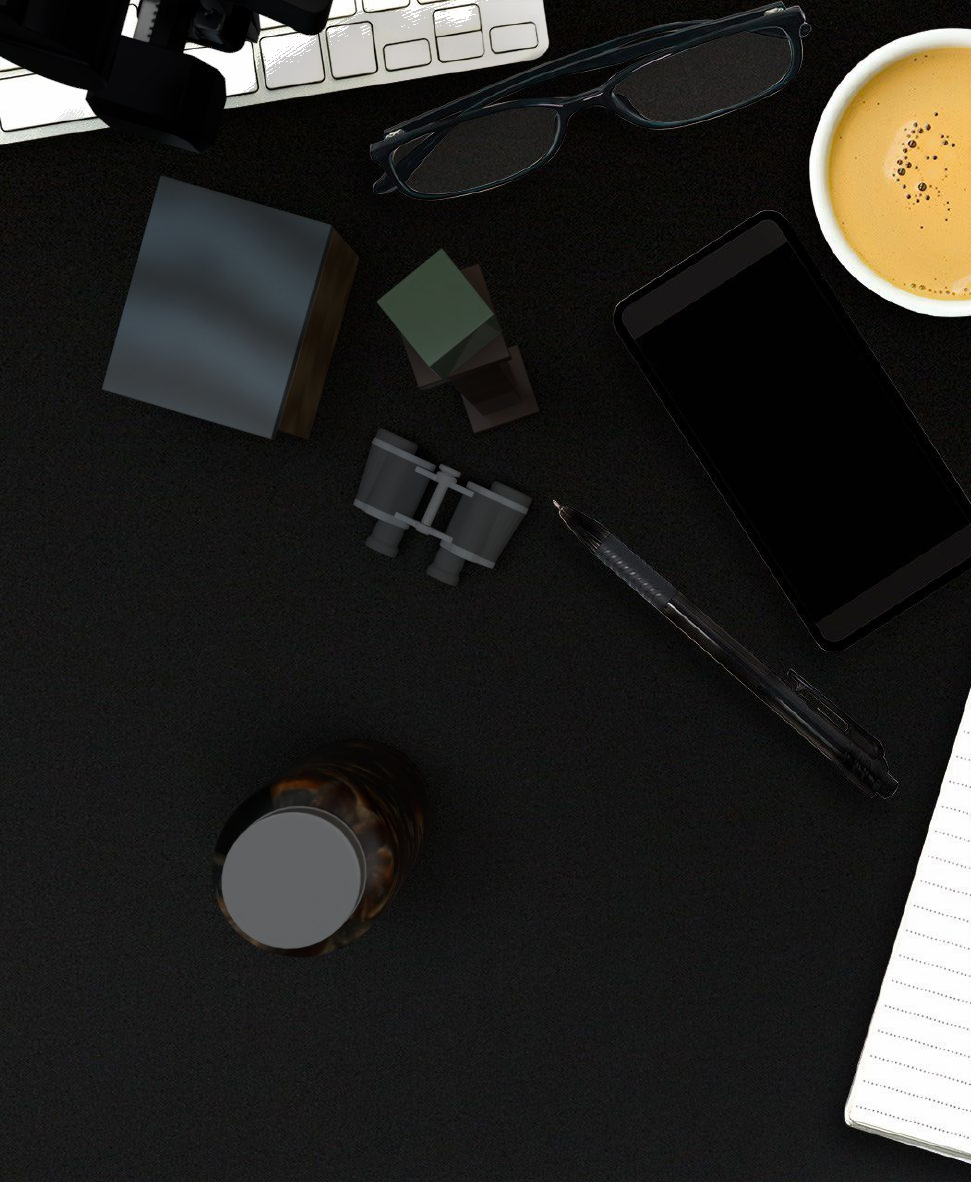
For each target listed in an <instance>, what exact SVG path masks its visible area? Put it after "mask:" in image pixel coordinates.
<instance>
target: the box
mask: <svg viewBox="0 0 971 1182" xmlns="http://www.w3.org/2000/svg"><path fill="white" fill-rule="evenodd" d="M359 262H360V256H359V255H358V254H357V253H356V252H355V251H354V250H353V248H351V246H350V245H349V244H348V243H347V242H346V240H345V239H344V238H343V237H342V235H341V234H340V233H339V232H338V231H337V230H336V229H335V228H334V232H333V235H332V239H331V242H330V246H329V250H328V253H327V257H326V260H325V264H324V267H323V271H322V274H321V278H320V281H319V285H318V289H317V292H316V296H315V299H314V303H313V306H312V310H311V313H310V317H309V321H308V324H307V328H306V331H305V335H304V338H303V342H302V345H301V349H300V352H299V356H298V360H297V363H296V367H295V370H294V374H293V377H292V381H291V384H290V388H289V391H288V395H287V399H286V402H285V406H284V409H283V413H282V416H281V420H280V423H279V427H278V431H277V432H280V433H284V434H287V435H290V436H294V437H297V438H300V439H304V440H309V439H310V436H311V433H312V430H313V426H314V422H315V420H316V419H315V418H316V414H317V411H318V408H319V404H320V401H321V397H322V393H323V390H324V386H325V383H326V379H327V376H328V372H329V368H330V365H331V362H332V359H333V354H334V351H335V347H336V345H337V340H338V336H339V333H340V329H341V326H342V322H343V319H344V315H345V312H346V308H347V304H348V301H349V298H350V295H351V291H352V287H353V283H354V279H355V276H356V273H357V270H358V269H357V268H358V265H359Z"/></svg>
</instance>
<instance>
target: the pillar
mask: <svg viewBox="0 0 971 1182" xmlns="http://www.w3.org/2000/svg"><path fill="white" fill-rule="evenodd" d="M459 270H460V272H461V273H462V274H463V275H464V277H465V278H466V279H467V280H468V282H469V283H470V284H471V285H472V287H473V288H474V289H475V290H476V292H477V293H478V294H479V295H480V297H481V298H482V299H483V300H484V302H485V303H486V304H487V305H488V307H489V308H490V309H491V310H492V312H493V313H494V315H495V317H496V319H497V321H498V323H499V324H500V326H501V327H502V325H501V322H500V319H499V315H498V314H497V310H496V307H495V303H494V302H493V298H492V295H491V293H490V290H489V286H488V284H487V280H486V277H485V274H484V272H483V268H482V266H481V264H480V263H476V264H473V265H470V266H468V267H465V268H461V269H459ZM398 331H399V334H400V337H401V338H400V339H401V340H402V343H403V347H404V349H405V353H406V355H407V358H408V361H409V364H410V366H411V370H412V373H413V376H414V379H415V382H416V384H417V387H418V389H419V390H420V391H426V390H428V389H432V388H434V387H437V386H440V385H443V384H446V383H450V384H452V386H453V387H454V388H455V389H456V390H457V391H458V393H459V395H460V398H461V401H462V404H463V407H464V409H465V412H466V415H467V418H468V421H469V424H470V427H471V429H472V433H473V434H474V436H477V435H480V434H483V433H486V432H489V431H493V430H495V429H498V428H501V427H504V426H507V425H509V424H513V423H515V422H518V421H521V420H524V419H527V418H530V417H533V416H536V415H539V414H541V413H542V412H541V408H540V405H539V403H538V400H537V396H536V393H535V391H534V387H533V385H532V382H531V379H530V376H529V373H528V370H527V367H526V363H525V361H524V359H523V355H522V352H521V349H520V347H519V345H518V344H514V345H511V346H509V345H508V343H507V340H506V337H505V334H504V331H503V332H502V333H501V334H500V335H498V336H497V337H496V338H495V339H493V340H492V341H491V342H490V343H489V344H487V345H486V346H485V347H484V348H482V349H481V350H480V351H479V352H477V353H476V354H475V355H474V356H473V357H471V358H470V359H469V360H468V361H466V362H465V363H464V364H463V365H461V366H460V367H459V368H458V369H457V370H455V371H454V372H453V373H452V374H450V375H449V376H448V377H447V378H446V379H444V380H441V379H440V378H439V377H438V376H437V375H436V374H435V373H434V372H433V371H432V370H431V369H430V368H429V367H428V365H427V364H426V363H425V362H424V360H423V359H422V358H421V357H420V355H419V354H418V353H417V352H416V350H415V349H414V348H413V347H412V345H411V344H410V343H409V342H408V340H407V339H406V338H405V337H404V335H403V334H402V333H401V332H400V330H399V329H398Z"/></svg>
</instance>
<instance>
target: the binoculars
mask: <svg viewBox="0 0 971 1182" xmlns="http://www.w3.org/2000/svg"><path fill="white" fill-rule="evenodd" d="M418 448H419V445H418V444H416V443H415V442H413V441H410V440H409V439H406V438H404V437H402V436H400V435H398V434H395V433H393V432H392V431H389V430H387V429H384V428H383V427H380V428H377V432H376V434H375V436H374V437H373V440H372V442H371V445H370V449H369V453H368V456H367V459H366V463H365V467H364V470H363V473H362V477H361V480H360V484H359V487H358V490H357V495H356V497H355V499H354V502H353V504H352V505H353V506H355V507H356V508H358V509H359V510H362V511H363V512H364V513H365V514H368V515H370V516H372V517H374V518H375V519H378V520H377V522H375V523H376V524H374V525H375V526H374V528H373V530H372V533H371V534H370V535H369V536H367V538H366V540H365V542H364V545H365V546H366V547H367V548H369V549H371V550H373V551H374V552H378V553H379V554H382V555H384V556H386V557H390V558H394V559H395V558H396V557H397V555H398V553H399V551H400V550H399V544H401V542H402V539H403V537H404V535H405V531H407V530H409V528H410V527H411V526H412V527H413V528H415V530H416V531H418V532H419V533H422V534H424V535H426V536H429V535H431V536H433V537H436V538H438V539H441V540H440V542H439V546H440V547H439V549H438V550H437V552H436V554H435V557H434V559H433V562H432V563H430V564H429V565H428V567H427V569H426V571H425V574H427V575H428V576H429V577H432V578H433V579H435V580H437V581H440V582H442V583H444V584H447V585H449V586H452V587H457V586H458V584H459V582H460V572H462V570H463V568H464V566H465V563H466V561H469V562H472V563H475V564H477V565H481V566H483V567H486V568H489V569H491V570H493V569H494V568H495V565H496V562H497V561H498V559H499V557H500V556H501V554H502V553H503V551H504V550H505V548H506V546H507V545H508V543H509V541H510V540H511V539H512V536H513V535H514V533H515V532H516V530H517V529H518V527H519V526H520V525H521V523H522V521H523V519H524V518H525V516H526V515H527V514H528V511H529V508H530V506H531V504H532V501H533V498H532V497H531V496H529V495H527V494H525V493H523V492H521V491H519V490H516V489H515V488H512V487H510V486H508V485H506V484H504V483H501V482H499V481H496V480H495V481H493V482H492V485H491V487H490V489H487V488H486V487H484V486H481V485H479V484H477V483H474V482H472V481H470V480H469V481H467V484H466V486H465V487H464V486H461V485H460V484H457V482H458V479H457V478H460V477H461V475H462V473H461V472H460V471H458V470H456V469H454V468H452V467H449V466H447V465H445V464H443V463H440V464H439V466H438V469H439V470H438V471H437V472H436V473H434V472H435V470H436V468H437V465H436V464H434V463H431V462H429V461H427V460H425V459H423V458H420V457H419V456H416V452H417V450H418ZM431 480H433V481H434V482H436V483H437V486H436V487H435V490H434V492H433V494H432V497H431V499H430V501H429V503H428V505H427V508H426V510H425V512H424V515H423V517H422V519H421V521H419V520H416V519H414V516H415V514H416V512H417V510H418V507H419V505H420V503H421V501H422V498H423V496H424V494H425V492H426V489H427V488H428V485H429V482H430V481H431ZM449 488H450V489H451V490H454V491H456V492H459V493H461V497H460V499H459V501H458V504H457V506H456V507H455V511H454V512H453V514H452V517H451V519H450V521H449V524H448V525H447V528H446V530H445V532H442V531H440V530H438V529H436V528H434V527H432V524H433V521H434V519H435V517H436V515H437V513H438V510H439V508H440V507H441V504H442V502H443V500H444V497H445V495H446V493H447V491H448V489H449Z"/></svg>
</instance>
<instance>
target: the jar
mask: <svg viewBox="0 0 971 1182" xmlns="http://www.w3.org/2000/svg"><path fill="white" fill-rule="evenodd" d="M432 802H433V801H432V797H431V793H430V790H429V788H428V785H427V783H426V781H425V779H424V777H423V775H422V774H421V772H420V770H419V769H418V768H417V767H416V766H415V764H414V763H413V762H412V761H410V759H408V758H407V756H405V755H403V753H401V752H399V751H398V750H396V749H394V748H393V747H391V746H389V745H387V744H384V743H380V742H377V741H373V740H368V739H344V740H339V741H335V742H334V741H333V742H331V743H328V744H325V745H323V746H320V747H319V748H317V749H315V750H313V751H311V752H309V753H308V754H306V755H305V756H303V757H301V758H299V759H298V760H296V761H295V762H294V763H292V764H290V765H289V766H287V767H286V768H285V769H283V770H282V771H280V772H279V773H277V774H275V775H274V776H273V777H271V778H270V779H268V780H267V781H266V782H264V783H263V784H262V785H260V786H259V787H257V788H256V789H255V790H254V791H252V792H251V793H250V794H249V795H248V796H246V797H245V798H244V799H243V800H242V801H241V802H240V803H239V805H237V807H236V808H235V809H234V810H233V812H232V813H231V815H230V816H229V817H228V818H227V820H226V821H225V823H224V825H223V827H222V828H221V830H220V833H219V834H218V837H217V841H216V843H215V846H214V849H213V855H212V863H211V880H212V885H213V886H212V887H213V891H214V894H215V898H216V901H217V904H218V906H219V909H220V910H221V912H222V915H223V916H224V918H225V919H226V921H227V922H228V924H230V926H231V927H232V928H233V929H234V930H235V932H237V933H238V935H240V936H241V938H243V939H244V940H246V941H247V942H249V943H250V944H251V945H254V947H257V948H259V949H260V950H263V951H264V952H268V953H271V954H274V955H277V956H282V957H287V958H301V959H302V958H314V957H319V956H324V955H327V954H332V953H334V952H337V951H339V950H341V949H343V948H345V947H347V946H349V945H350V944H353V942H355V941H356V940H358V939H359V938H360V937H362V936H363V935H365V934H366V933H367V932H368V931H369V930H370V929H371V928H372V927H373V926H374V925H375V924H376V923H377V922H378V921H379V919H381V917H382V916H383V915H384V913H385V912H386V911H387V910H388V908H389V907H390V905H391V904H392V902H393V901H394V899H395V898H396V897H397V896H398V894H399V892H400V891H401V890H402V888H403V886H404V885H405V883H406V882H407V880H408V879H409V877H410V875H412V872H413V871H414V869H415V868H416V866H417V864H418V863H419V861H420V860H421V858H422V856H423V854H424V853H425V850H426V848H427V845H428V843H429V841H430V836H431V832H432V828H433V819H434V817H433V815H434V811H433V803H432Z"/></svg>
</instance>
